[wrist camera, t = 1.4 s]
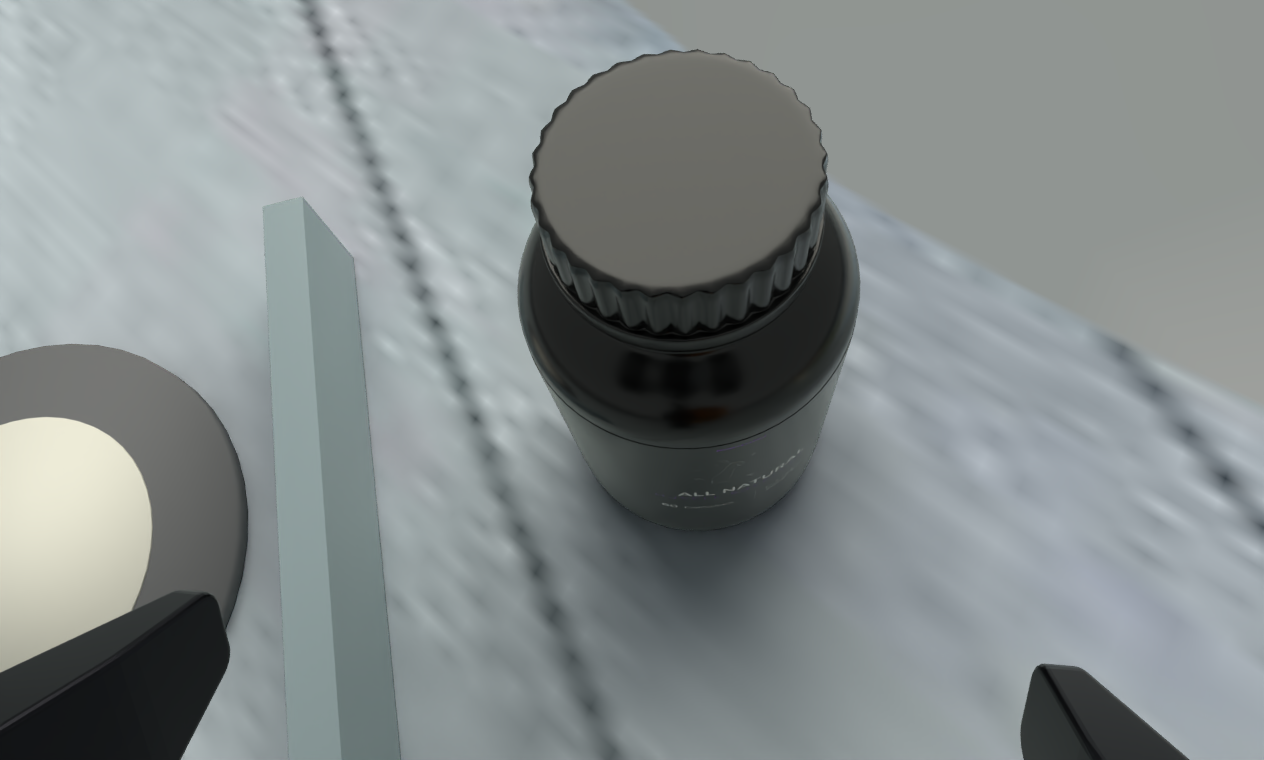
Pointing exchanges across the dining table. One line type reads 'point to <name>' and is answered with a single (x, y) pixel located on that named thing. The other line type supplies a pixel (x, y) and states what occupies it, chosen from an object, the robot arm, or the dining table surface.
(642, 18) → the dining table surface
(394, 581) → the dining table surface
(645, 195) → the supplement bottle
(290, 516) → the acrylic wall
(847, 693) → the dining table surface
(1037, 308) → the dining table surface
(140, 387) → the mat
